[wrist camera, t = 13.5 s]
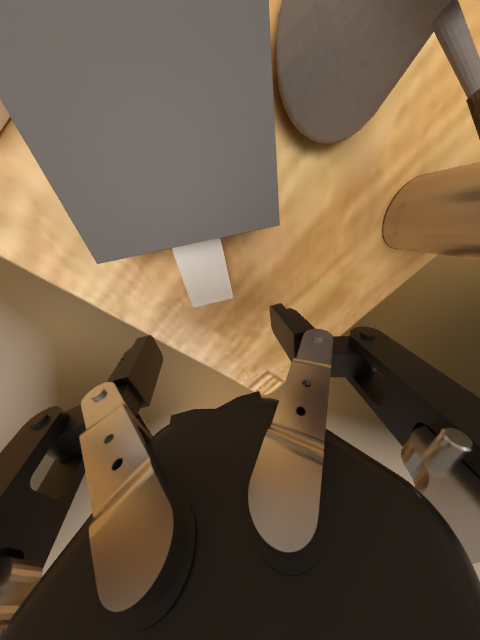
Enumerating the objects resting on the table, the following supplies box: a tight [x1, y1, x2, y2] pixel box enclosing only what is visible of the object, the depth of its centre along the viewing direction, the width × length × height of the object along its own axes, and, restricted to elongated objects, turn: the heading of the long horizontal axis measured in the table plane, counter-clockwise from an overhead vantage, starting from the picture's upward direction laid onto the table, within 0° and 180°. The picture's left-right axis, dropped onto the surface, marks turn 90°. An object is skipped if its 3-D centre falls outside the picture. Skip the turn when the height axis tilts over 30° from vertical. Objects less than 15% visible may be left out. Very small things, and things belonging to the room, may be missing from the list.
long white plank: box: [172, 238, 233, 308], centre depth 19 cm, size 16×5×5 cm, turn 11°
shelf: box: [0, 0, 280, 264], centre depth 14 cm, size 11×14×10 cm
